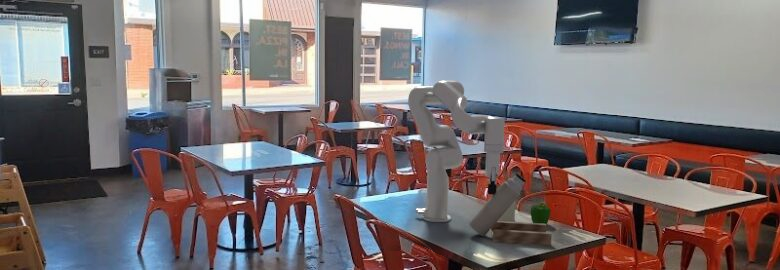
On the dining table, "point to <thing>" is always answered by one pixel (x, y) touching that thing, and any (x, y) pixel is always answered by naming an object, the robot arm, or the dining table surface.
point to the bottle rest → (520, 233)
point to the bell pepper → (540, 213)
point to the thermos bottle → (497, 205)
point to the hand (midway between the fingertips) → (491, 193)
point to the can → (509, 214)
